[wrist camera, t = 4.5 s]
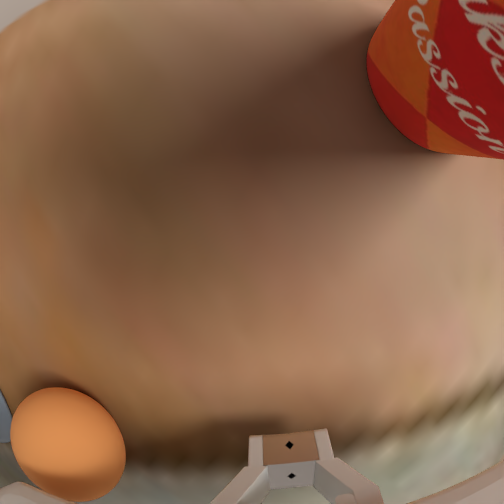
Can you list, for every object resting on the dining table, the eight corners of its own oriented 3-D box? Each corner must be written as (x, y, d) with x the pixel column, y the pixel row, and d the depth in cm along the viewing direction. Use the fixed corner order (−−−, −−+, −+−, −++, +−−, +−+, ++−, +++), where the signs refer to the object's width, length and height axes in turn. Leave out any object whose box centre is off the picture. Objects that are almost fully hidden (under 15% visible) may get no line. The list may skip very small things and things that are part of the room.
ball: (153, 451, 13) (126, 534, 7) (70, 436, 13) (31, 501, 8) (119, 368, 11) (61, 461, 6) (30, 359, 12) (-32, 422, 6)
